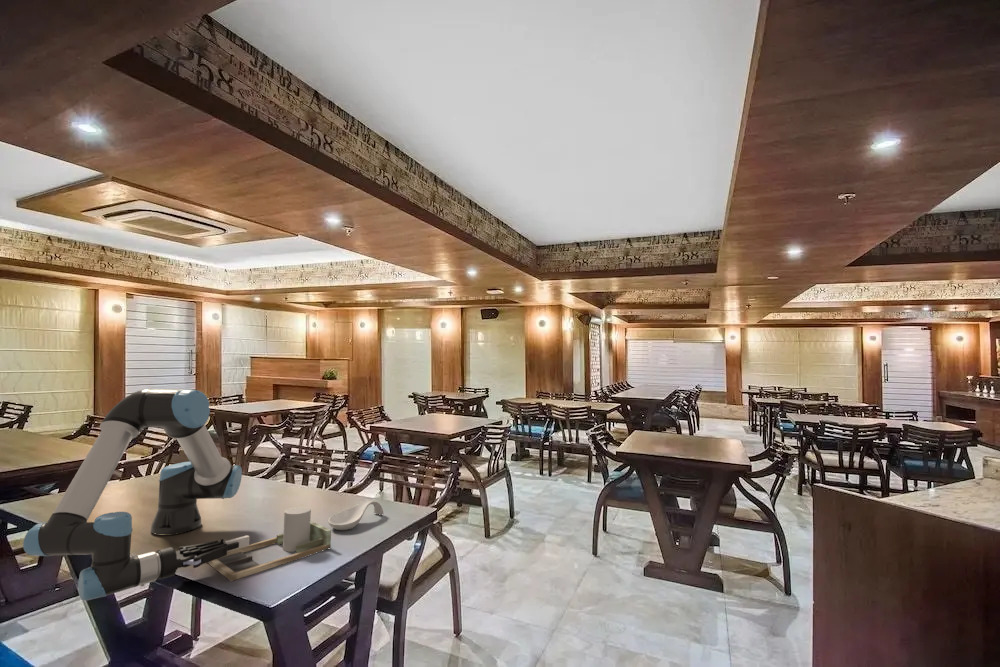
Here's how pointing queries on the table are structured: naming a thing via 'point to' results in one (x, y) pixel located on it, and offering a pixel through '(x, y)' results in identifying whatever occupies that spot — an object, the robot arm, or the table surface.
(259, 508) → the table surface
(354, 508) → the spoon rest
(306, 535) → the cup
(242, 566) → the wooden tray frame
